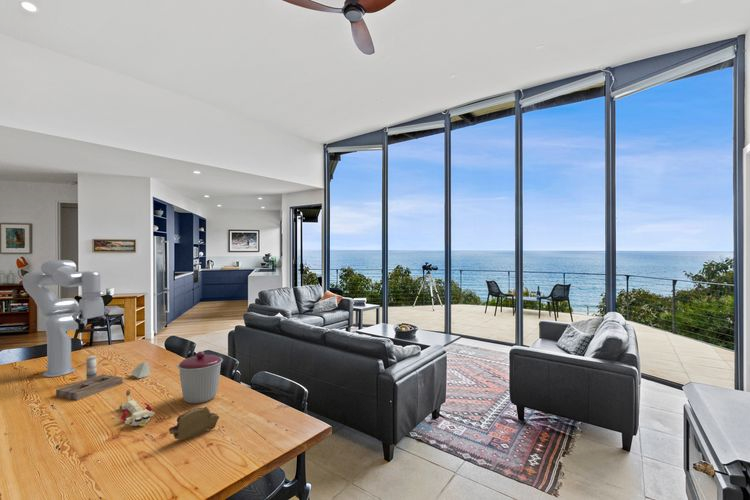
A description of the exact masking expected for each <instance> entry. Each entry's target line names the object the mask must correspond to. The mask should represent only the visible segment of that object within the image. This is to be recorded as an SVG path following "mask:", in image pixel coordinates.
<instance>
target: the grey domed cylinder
mask: <svg viewBox="0 0 750 500" xmlns="http://www.w3.org/2000/svg"><path fill="white" fill-rule="evenodd" d="M97 358H98V357H97V355H91V356H86V365H85V367H86V371H85V372H86V374H85V375H86V379H85V380H87V379H90V378H93V377H96V376H98V374H97V372H98V371H97V365H98V363H97V361H98V360H97Z"/></svg>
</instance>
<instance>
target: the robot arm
mask: <svg viewBox="0 0 750 500" xmlns="http://www.w3.org/2000/svg"><path fill="white" fill-rule="evenodd" d="M56 285H57V286H60V287H63V288H74V287H81V299H79V301H78V300H77V299H75V298H73V297H66V298H63V297H62V298H59V297H57V296H56V294H55V293H54V292H53V291H52V290H51V289H49V288H47V287H46V286H56ZM22 286H23V289H24V290H25V292H26V293H27V294H28V295H29V296H30V297H31V298H32V299H33V301H34V302H35V304H36V306H37V308H38V310H39V312H40V313H41V315H42V316H43V317H45V318H46V320H45V321H44V330H45V334H46V347H47V348H46V352H47V353H46V355H47V356H46V358H47V359H46V360H47V361H46V362H47V365H46V366H45V367H44V368H45V369H47V370H46V371H45V372H44V373H42V374H43V375H42V376H43V377H45V378H54V377H60V376H65V375H69V374H71V373H73V372H75V371H76V368H75V367H74V366H72V339H71V337H70V335H69V334H68V333H66V332H69V331H75V330H78V331H79V332H84V331H86V330H85V329H86V328H85V327H86V326H87V324H88V319H89V320H90V319H95V318H99V320H98V321H99V327H100V328H106V319H107V318H108V316H109V314H110V312H111V310H110V309H108V308H105V304H104V299H103V297H101V296H103V294H104V293H103V292H102V291H101V289H102V288H101V273H100V272H99V271H90V270H89V271H84V270H83V271H77V264H76V263H75V262H74V261H73V260H71V259H54V260H52V259H51V260H47V261H44V262H43V263H42V264H41V265H40V270H35V271H30V272H27V273H25V274H24V275H23V277H22ZM44 286H45V287H44Z"/></svg>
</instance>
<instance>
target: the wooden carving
mask: <svg viewBox="0 0 750 500" xmlns="http://www.w3.org/2000/svg"><path fill="white" fill-rule="evenodd" d="M219 418H220V416H219V414H217V413H214V412H211V411H210V410H209V407H207V406H204V407H195V408H193V409H189V410H187V411H185V412H184V413H182V414H181V415H179V416H177V419H176V422H177V424H176V425H175V426H171V427H169V429H168V431H169V434H171V435H173V437H174V439H176V440H192V439H193V438H196V437H199V436H201V435H202V434H203V433H205V432H206V431H207V430H212V429H214V428H216V426H217V423H218V420H219Z"/></svg>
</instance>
